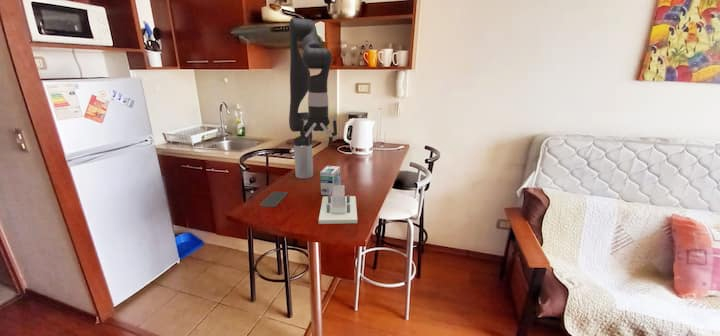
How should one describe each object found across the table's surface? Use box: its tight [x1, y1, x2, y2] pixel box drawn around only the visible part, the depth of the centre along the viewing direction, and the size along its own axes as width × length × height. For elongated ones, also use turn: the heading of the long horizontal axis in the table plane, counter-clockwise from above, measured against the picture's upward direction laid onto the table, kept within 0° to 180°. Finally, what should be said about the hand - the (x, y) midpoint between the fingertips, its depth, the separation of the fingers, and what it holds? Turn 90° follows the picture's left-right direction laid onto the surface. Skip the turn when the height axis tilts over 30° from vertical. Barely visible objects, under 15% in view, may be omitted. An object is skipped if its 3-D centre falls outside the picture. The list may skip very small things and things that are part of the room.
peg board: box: [318, 194, 358, 225], centre depth 120 cm, size 22×14×4 cm, turn 3°
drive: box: [331, 184, 346, 214], centre depth 119 cm, size 12×5×7 cm, turn 2°
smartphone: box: [258, 191, 288, 208], centre depth 131 cm, size 7×1×15 cm
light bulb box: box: [319, 165, 342, 196], centre depth 139 cm, size 11×7×11 cm, turn 168°
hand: (319, 145), depth 120 cm, fingers open, 8 cm apart
